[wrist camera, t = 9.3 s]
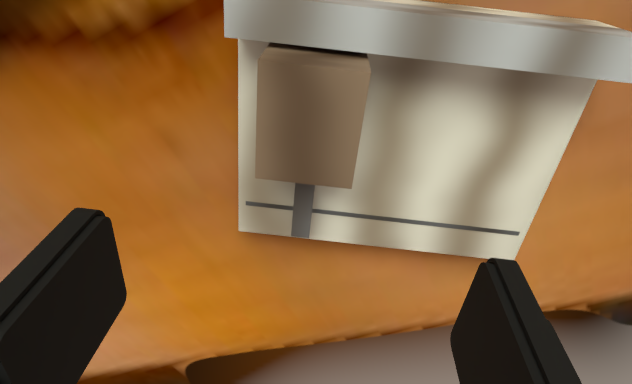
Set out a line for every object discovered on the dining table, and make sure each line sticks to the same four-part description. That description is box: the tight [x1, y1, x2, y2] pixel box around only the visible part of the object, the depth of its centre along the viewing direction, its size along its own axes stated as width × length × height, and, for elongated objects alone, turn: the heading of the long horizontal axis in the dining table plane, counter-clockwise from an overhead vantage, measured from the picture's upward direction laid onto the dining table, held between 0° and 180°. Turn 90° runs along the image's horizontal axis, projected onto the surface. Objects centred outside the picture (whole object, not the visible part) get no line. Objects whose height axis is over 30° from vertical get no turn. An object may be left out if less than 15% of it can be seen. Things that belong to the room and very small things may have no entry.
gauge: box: [255, 42, 371, 238], centre depth 23 cm, size 5×12×5 cm, turn 174°
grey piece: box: [224, 0, 632, 260], centre depth 25 cm, size 20×16×6 cm
